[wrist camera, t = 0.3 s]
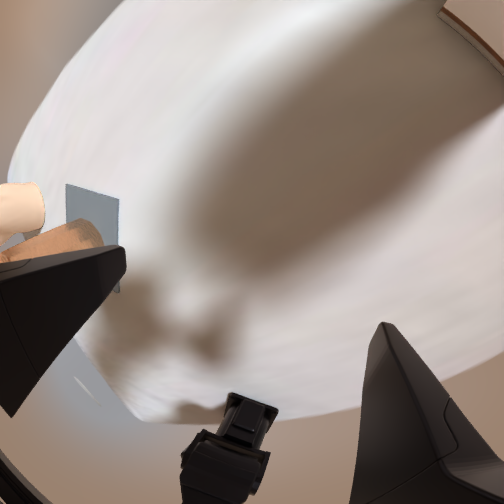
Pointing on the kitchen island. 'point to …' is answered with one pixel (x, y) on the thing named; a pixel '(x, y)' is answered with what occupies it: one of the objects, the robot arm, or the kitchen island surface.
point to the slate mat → (94, 213)
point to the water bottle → (20, 209)
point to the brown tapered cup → (56, 241)
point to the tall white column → (479, 26)
